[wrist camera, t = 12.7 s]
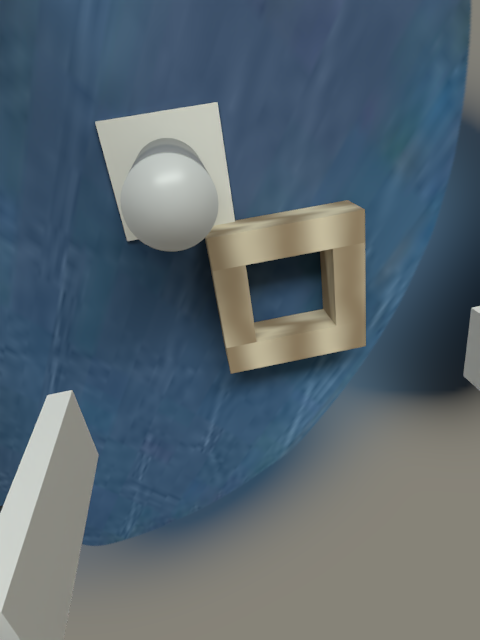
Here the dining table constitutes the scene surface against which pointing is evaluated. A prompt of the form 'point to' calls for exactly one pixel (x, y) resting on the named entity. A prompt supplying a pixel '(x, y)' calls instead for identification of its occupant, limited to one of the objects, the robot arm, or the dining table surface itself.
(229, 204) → the pad
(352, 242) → the housing
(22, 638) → the robot arm
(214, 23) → the dining table surface
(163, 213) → the grey domed cylinder
